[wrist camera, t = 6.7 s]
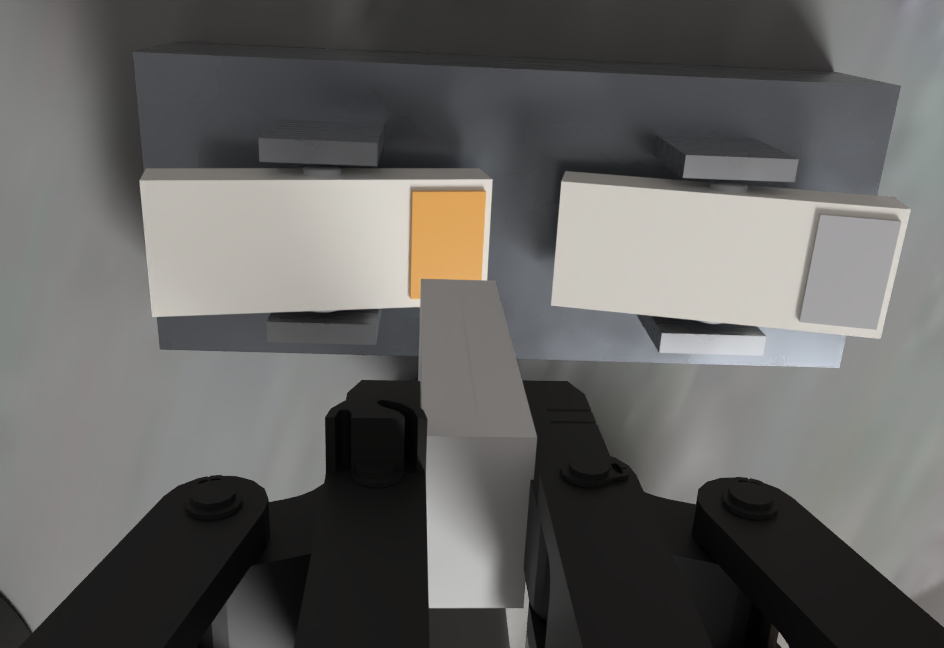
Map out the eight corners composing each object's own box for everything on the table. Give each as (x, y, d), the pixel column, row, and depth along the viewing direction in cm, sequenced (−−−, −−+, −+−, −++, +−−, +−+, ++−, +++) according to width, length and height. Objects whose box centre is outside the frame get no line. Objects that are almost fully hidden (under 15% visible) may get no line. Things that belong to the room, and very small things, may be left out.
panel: (196, 301, 32) (126, 393, 24) (177, 42, 28) (89, 61, 21) (787, 318, 33) (886, 412, 26) (834, 71, 29) (963, 99, 22)
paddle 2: (554, 293, 26) (550, 312, 25) (565, 166, 25) (561, 177, 23) (865, 324, 25) (880, 346, 23) (895, 191, 24) (913, 204, 22)
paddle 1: (158, 302, 24) (152, 324, 23) (145, 162, 23) (137, 176, 21) (473, 292, 26) (486, 311, 25) (479, 162, 25) (494, 175, 23)
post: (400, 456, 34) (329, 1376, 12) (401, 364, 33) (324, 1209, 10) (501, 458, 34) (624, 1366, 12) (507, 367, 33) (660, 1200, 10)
